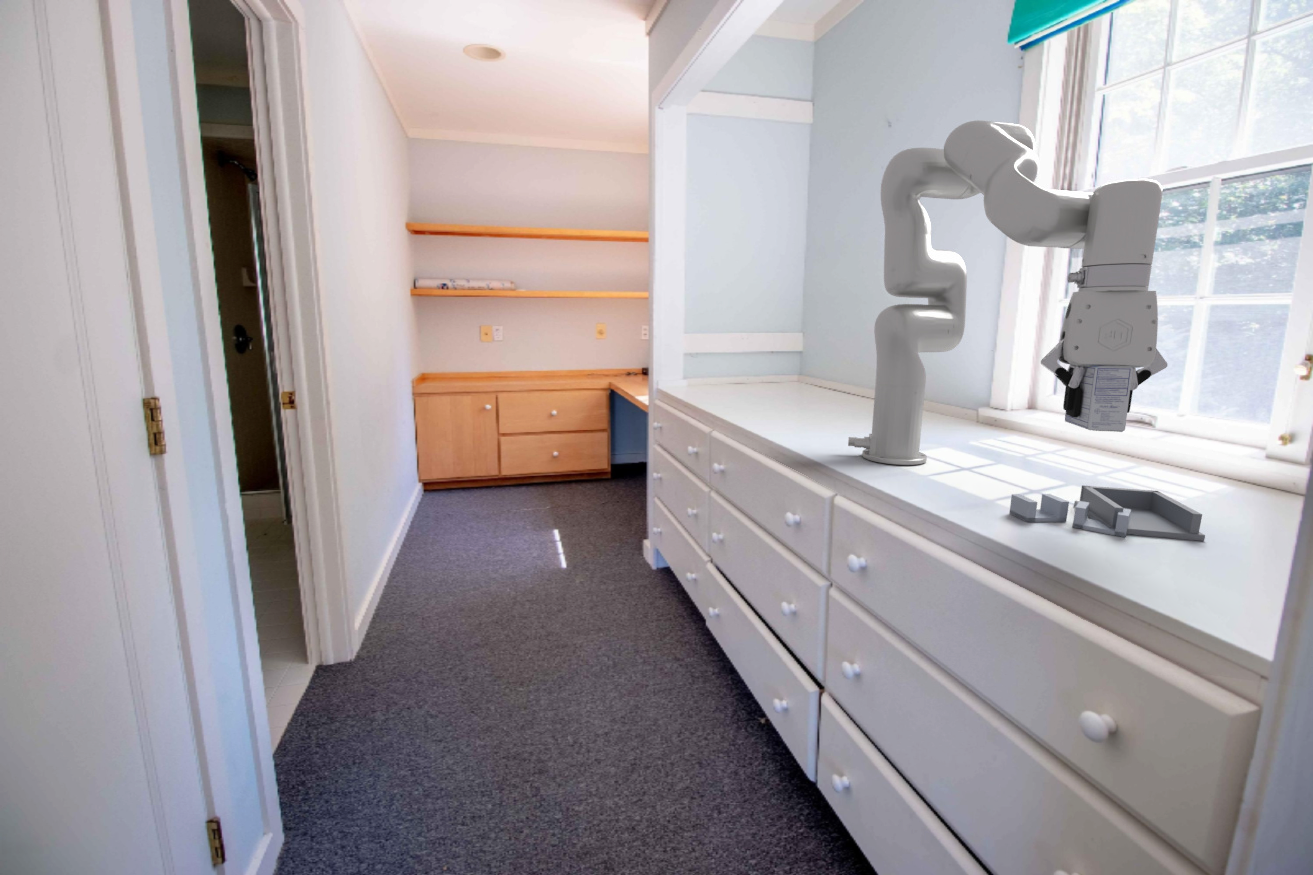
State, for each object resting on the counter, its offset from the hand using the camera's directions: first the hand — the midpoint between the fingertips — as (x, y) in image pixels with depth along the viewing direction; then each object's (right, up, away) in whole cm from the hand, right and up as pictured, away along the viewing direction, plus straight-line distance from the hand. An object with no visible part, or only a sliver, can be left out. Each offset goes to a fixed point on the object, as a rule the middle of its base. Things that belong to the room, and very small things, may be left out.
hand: (1094, 415), depth 85 cm
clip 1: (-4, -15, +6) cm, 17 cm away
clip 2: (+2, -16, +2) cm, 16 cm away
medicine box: (0, -2, 0) cm, 2 cm away
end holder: (+9, -15, +5) cm, 18 cm away
